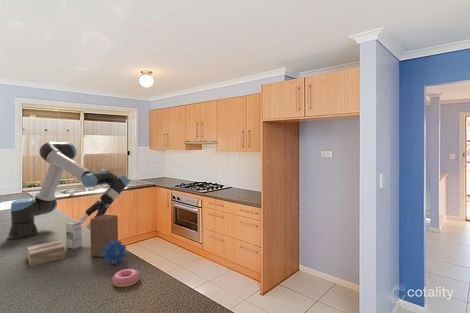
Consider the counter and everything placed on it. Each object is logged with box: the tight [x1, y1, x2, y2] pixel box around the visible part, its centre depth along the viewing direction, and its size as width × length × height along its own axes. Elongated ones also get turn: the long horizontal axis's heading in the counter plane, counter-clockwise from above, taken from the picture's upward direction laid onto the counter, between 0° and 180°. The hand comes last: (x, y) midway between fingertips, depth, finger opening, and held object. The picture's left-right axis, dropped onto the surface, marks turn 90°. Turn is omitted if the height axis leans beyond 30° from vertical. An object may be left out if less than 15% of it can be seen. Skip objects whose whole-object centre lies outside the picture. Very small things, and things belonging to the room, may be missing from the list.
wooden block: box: [89, 214, 119, 258], centre depth 143 cm, size 10×10×20 cm
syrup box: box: [65, 220, 83, 250], centre depth 153 cm, size 6×6×14 cm
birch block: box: [26, 240, 65, 267], centre depth 138 cm, size 14×14×6 cm
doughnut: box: [111, 268, 141, 288], centre depth 113 cm, size 11×11×4 cm
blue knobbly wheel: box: [102, 240, 127, 265], centre depth 130 cm, size 12×7×12 cm, turn 135°
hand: (83, 226), depth 156 cm, fingers open, 13 cm apart
